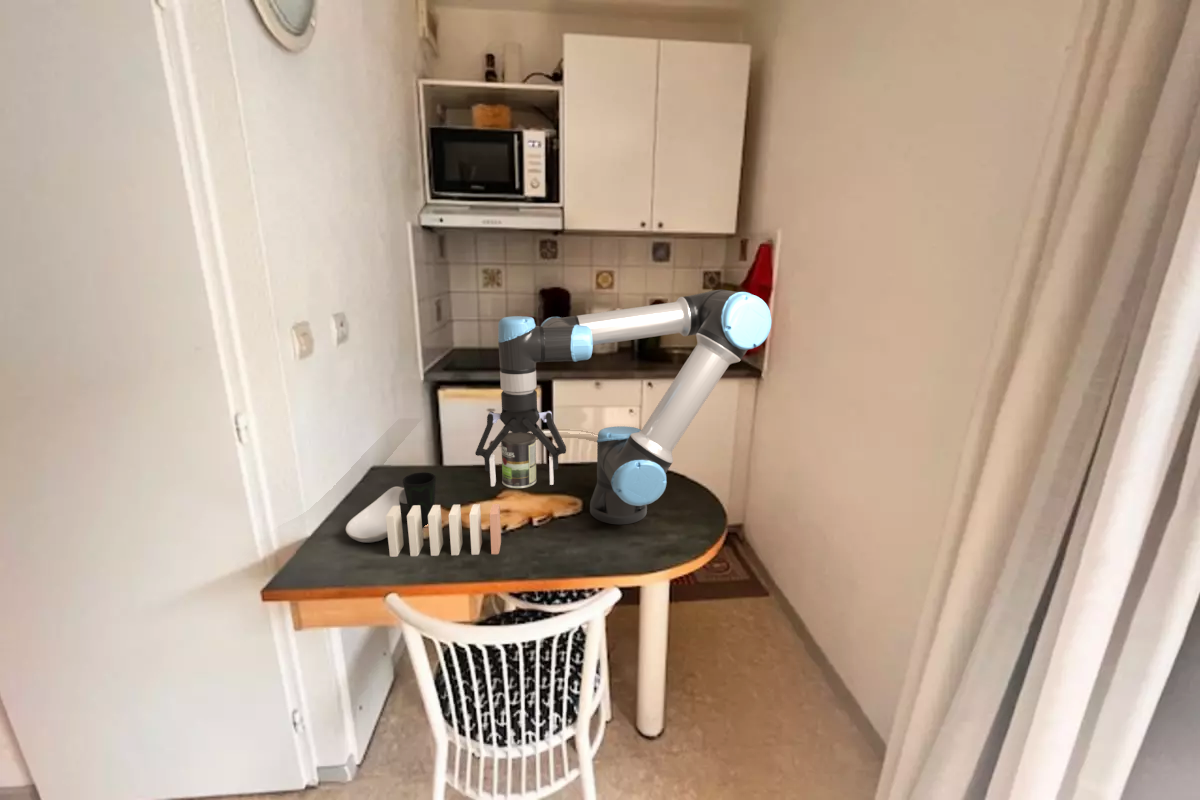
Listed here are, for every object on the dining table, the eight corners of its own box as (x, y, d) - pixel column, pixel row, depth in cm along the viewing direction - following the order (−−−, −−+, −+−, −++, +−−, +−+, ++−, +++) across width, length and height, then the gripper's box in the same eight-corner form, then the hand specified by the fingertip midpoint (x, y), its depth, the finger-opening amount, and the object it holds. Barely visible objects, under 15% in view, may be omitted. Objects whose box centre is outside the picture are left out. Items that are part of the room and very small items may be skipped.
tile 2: (462, 543, 123) (460, 504, 120) (458, 555, 118) (455, 514, 115) (455, 543, 123) (453, 504, 120) (451, 555, 118) (448, 515, 115)
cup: (406, 517, 134) (402, 474, 131) (437, 513, 137) (434, 470, 133) (407, 532, 127) (402, 486, 124) (439, 527, 130) (436, 482, 127)
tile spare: (501, 542, 123) (499, 503, 121) (498, 554, 118) (496, 514, 116) (494, 542, 123) (492, 504, 120) (491, 554, 118) (489, 514, 116)
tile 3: (443, 543, 122) (440, 504, 120) (438, 555, 117) (435, 515, 115) (436, 543, 122) (433, 505, 120) (431, 555, 117) (427, 515, 115)
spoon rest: (385, 551, 119) (382, 523, 117) (336, 548, 120) (333, 520, 118) (429, 504, 142) (427, 480, 140) (388, 501, 143) (385, 477, 141)
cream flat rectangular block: (403, 544, 122) (400, 505, 119) (397, 556, 117) (393, 516, 114) (396, 544, 122) (392, 505, 119) (389, 556, 117) (385, 516, 114)
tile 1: (482, 542, 123) (480, 504, 120) (478, 554, 118) (476, 514, 115) (475, 543, 123) (473, 504, 120) (471, 554, 118) (469, 514, 115)
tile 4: (423, 544, 122) (420, 505, 119) (417, 556, 117) (414, 515, 115) (416, 544, 122) (413, 505, 119) (410, 556, 117) (406, 515, 114)
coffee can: (514, 491, 150) (513, 445, 146) (495, 480, 157) (493, 436, 153) (543, 482, 156) (543, 437, 153) (524, 471, 164) (522, 429, 160)
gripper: (575, 385, 116) (576, 474, 121) (463, 386, 114) (470, 477, 120) (576, 393, 108) (577, 488, 114) (457, 395, 107) (464, 491, 113)
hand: (522, 483), depth 117 cm, fingers open, 12 cm apart
